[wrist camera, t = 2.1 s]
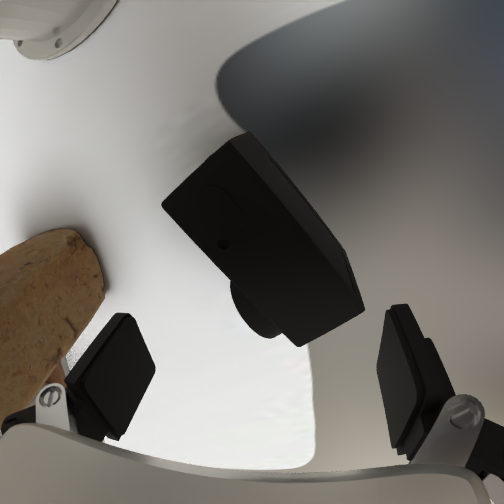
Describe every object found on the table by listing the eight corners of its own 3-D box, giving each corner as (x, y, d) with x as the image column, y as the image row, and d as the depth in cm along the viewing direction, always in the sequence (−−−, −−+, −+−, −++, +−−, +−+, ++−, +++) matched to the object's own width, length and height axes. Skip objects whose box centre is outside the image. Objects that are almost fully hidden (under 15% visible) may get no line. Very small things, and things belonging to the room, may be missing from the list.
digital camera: (187, 183, 19) (140, 219, 13) (248, 129, 17) (225, 138, 11) (283, 290, 22) (280, 358, 16) (345, 250, 20) (366, 312, 14)
